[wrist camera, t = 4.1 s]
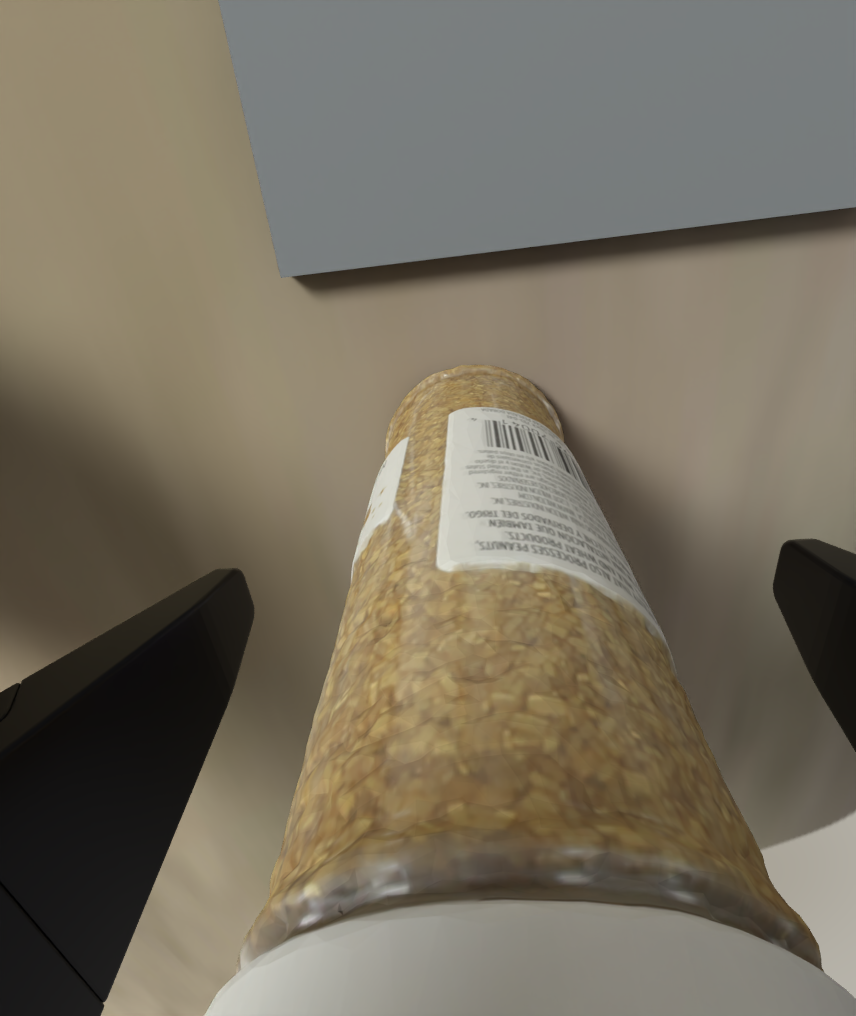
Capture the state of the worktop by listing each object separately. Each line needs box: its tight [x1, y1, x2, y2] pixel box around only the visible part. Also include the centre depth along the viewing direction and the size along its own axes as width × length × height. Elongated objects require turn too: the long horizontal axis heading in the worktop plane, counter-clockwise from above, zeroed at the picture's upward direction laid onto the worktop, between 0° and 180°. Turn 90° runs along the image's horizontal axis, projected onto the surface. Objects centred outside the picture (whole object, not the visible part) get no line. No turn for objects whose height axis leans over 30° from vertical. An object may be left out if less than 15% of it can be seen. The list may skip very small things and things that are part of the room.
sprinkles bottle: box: [204, 365, 856, 1016], centre depth 8 cm, size 5×5×13 cm
